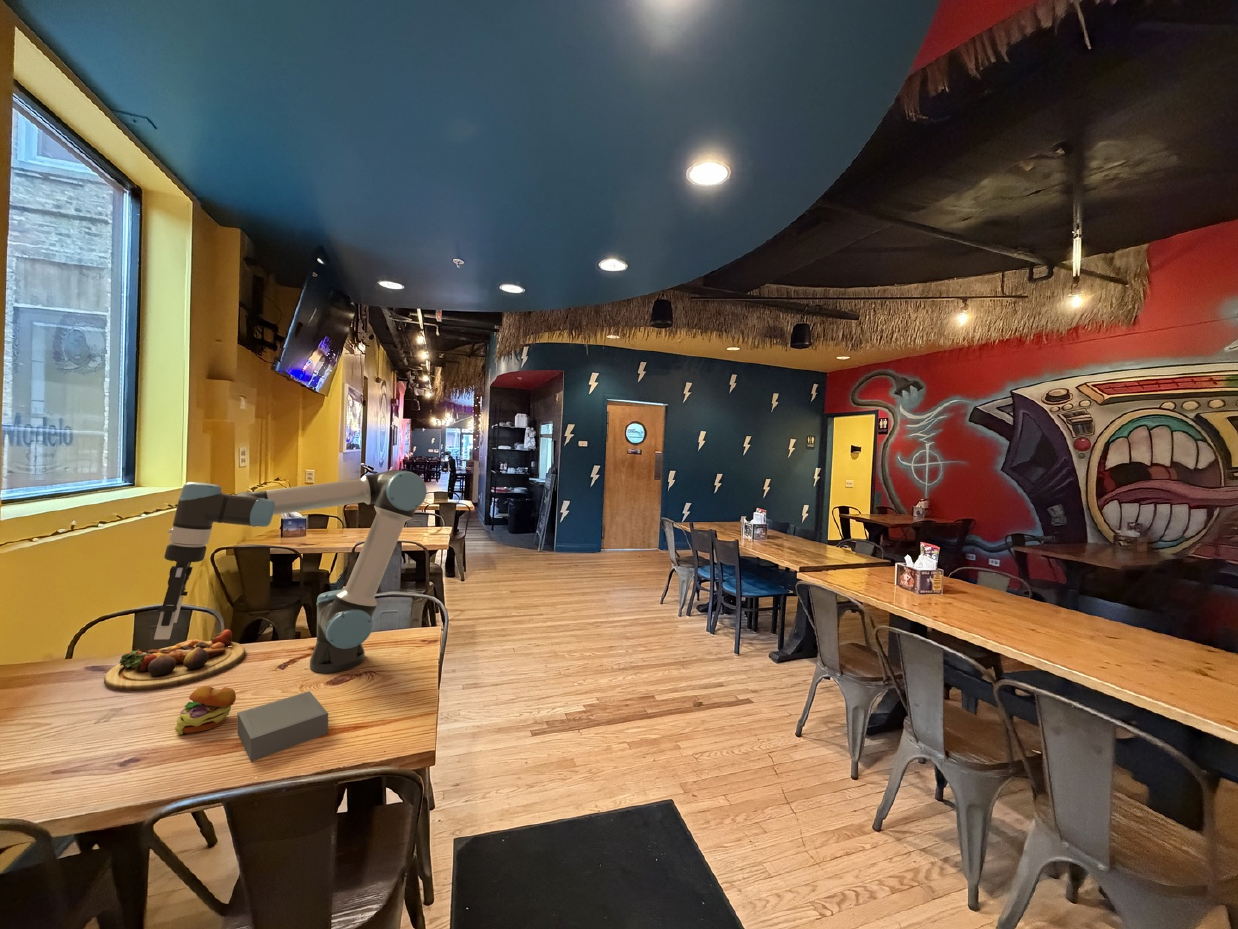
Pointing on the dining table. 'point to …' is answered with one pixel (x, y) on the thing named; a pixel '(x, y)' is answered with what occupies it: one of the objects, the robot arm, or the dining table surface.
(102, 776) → the dining table surface
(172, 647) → the wooden plate with food
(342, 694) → the dining table surface
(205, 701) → the cheeseburger
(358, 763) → the dining table surface
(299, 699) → the tray
